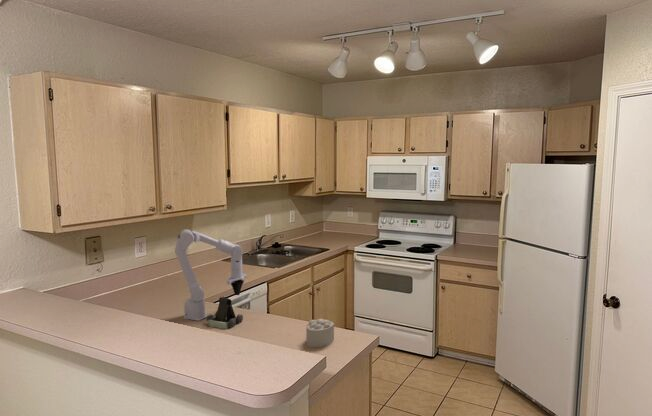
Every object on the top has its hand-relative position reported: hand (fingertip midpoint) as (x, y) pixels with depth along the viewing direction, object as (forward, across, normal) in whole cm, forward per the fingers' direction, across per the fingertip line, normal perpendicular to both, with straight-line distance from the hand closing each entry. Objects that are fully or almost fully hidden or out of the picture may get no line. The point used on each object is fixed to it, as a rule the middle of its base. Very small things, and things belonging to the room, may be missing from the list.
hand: (237, 294), depth 221 cm
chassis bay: (+9, -14, -3) cm, 17 cm away
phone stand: (+10, -14, -3) cm, 17 cm away
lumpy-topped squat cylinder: (+10, -16, -53) cm, 56 cm away
